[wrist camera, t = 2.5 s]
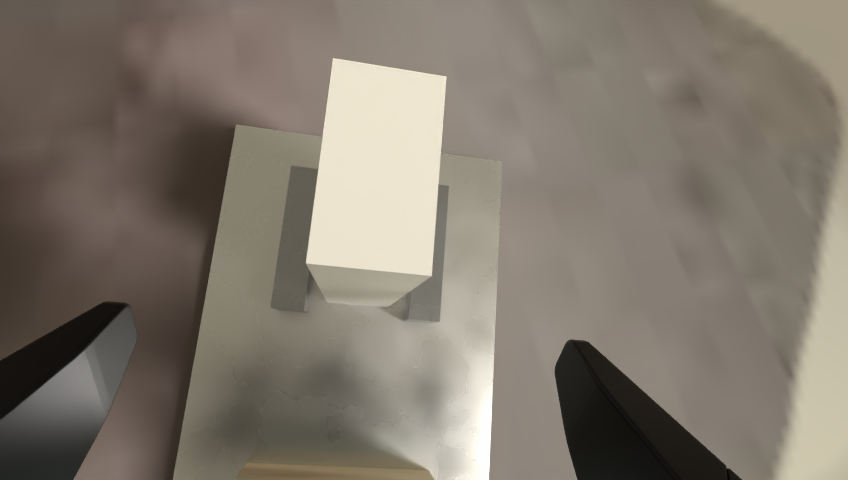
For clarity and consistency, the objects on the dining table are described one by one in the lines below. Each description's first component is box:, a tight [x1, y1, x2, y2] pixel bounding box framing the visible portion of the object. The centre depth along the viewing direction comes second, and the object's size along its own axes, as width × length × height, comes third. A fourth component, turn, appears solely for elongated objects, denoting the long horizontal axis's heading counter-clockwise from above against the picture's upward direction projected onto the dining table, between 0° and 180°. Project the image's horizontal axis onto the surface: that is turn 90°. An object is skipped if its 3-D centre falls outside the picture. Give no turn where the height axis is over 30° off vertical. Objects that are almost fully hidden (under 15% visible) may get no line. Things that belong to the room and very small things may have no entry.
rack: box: [173, 125, 502, 480], centre depth 18 cm, size 19×12×3 cm, turn 175°
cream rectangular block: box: [306, 58, 446, 308], centre depth 15 cm, size 4×2×10 cm, turn 175°
